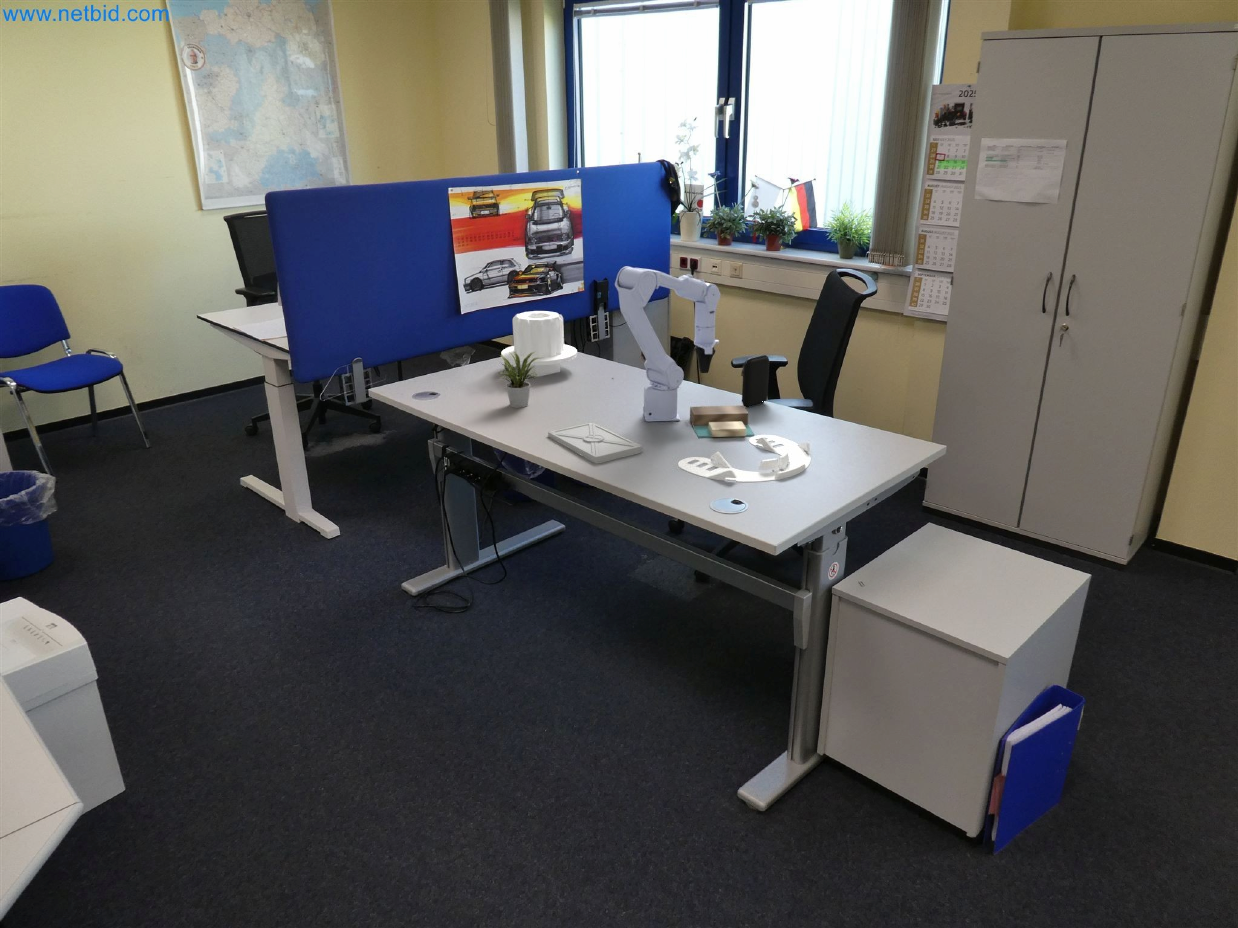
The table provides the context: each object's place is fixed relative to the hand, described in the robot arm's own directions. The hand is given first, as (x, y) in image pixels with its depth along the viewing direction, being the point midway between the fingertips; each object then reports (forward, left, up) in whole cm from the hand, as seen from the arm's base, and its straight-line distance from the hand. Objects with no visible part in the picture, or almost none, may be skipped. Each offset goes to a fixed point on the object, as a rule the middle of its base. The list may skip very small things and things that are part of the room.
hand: (704, 372), depth 246 cm
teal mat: (+2, -22, -10) cm, 24 cm away
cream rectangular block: (+3, -24, -8) cm, 25 cm away
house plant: (-52, +7, -11) cm, 54 cm away
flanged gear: (-48, +43, -11) cm, 65 cm away
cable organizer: (+6, -43, -11) cm, 45 cm away
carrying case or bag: (+15, 0, -11) cm, 18 cm away
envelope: (-33, -28, -11) cm, 45 cm away
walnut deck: (+2, -14, -10) cm, 17 cm away
